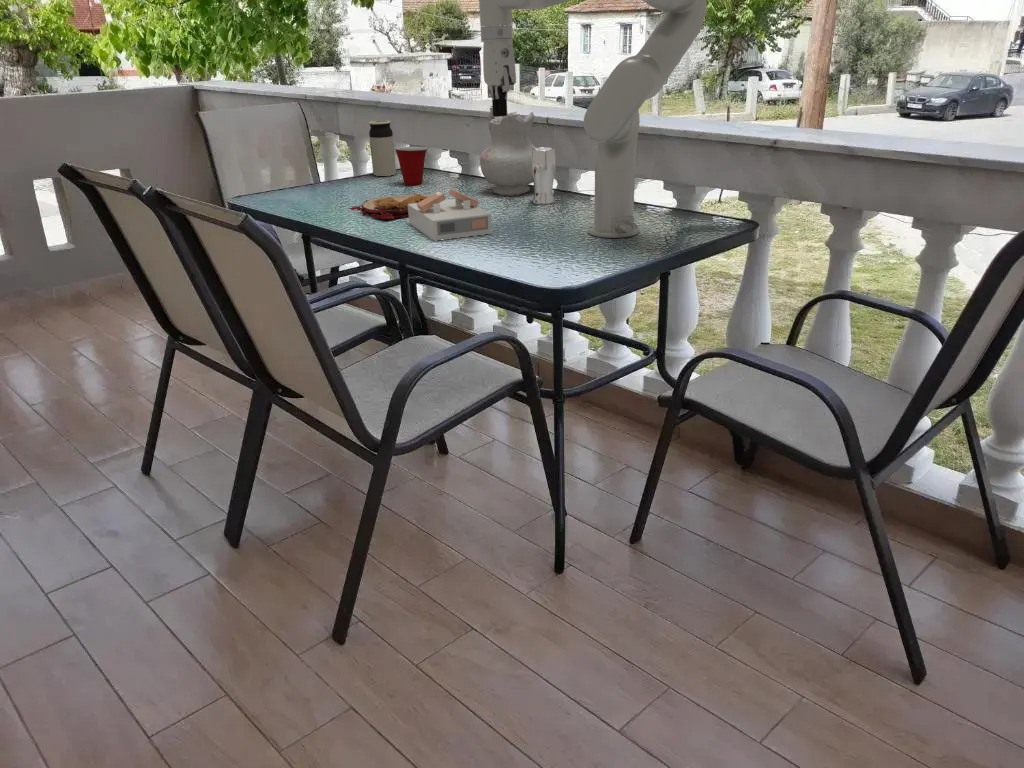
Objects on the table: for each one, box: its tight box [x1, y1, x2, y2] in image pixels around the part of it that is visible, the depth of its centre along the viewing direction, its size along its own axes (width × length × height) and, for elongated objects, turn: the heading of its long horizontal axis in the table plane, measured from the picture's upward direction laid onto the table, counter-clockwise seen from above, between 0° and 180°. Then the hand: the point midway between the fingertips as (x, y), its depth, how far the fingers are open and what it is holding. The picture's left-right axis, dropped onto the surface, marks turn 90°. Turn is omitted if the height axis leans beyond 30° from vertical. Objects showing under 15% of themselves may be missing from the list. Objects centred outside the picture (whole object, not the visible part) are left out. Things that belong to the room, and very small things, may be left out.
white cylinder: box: [531, 146, 556, 205], centre depth 226 cm, size 7×7×15 cm
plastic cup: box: [394, 146, 428, 187], centre depth 258 cm, size 11×11×12 cm
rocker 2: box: [448, 189, 479, 207], centre depth 201 cm, size 5×7×2 cm
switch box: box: [408, 197, 493, 241], centre depth 201 cm, size 22×15×7 cm
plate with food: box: [348, 193, 432, 220], centre depth 227 cm, size 25×26×4 cm
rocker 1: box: [417, 190, 447, 212], centre depth 198 cm, size 5×7×2 cm
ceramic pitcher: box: [479, 105, 537, 197], centre depth 241 cm, size 22×20×25 cm
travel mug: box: [368, 120, 397, 177], centre depth 274 cm, size 8×8×18 cm
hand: (500, 115), depth 195 cm, fingers closed
